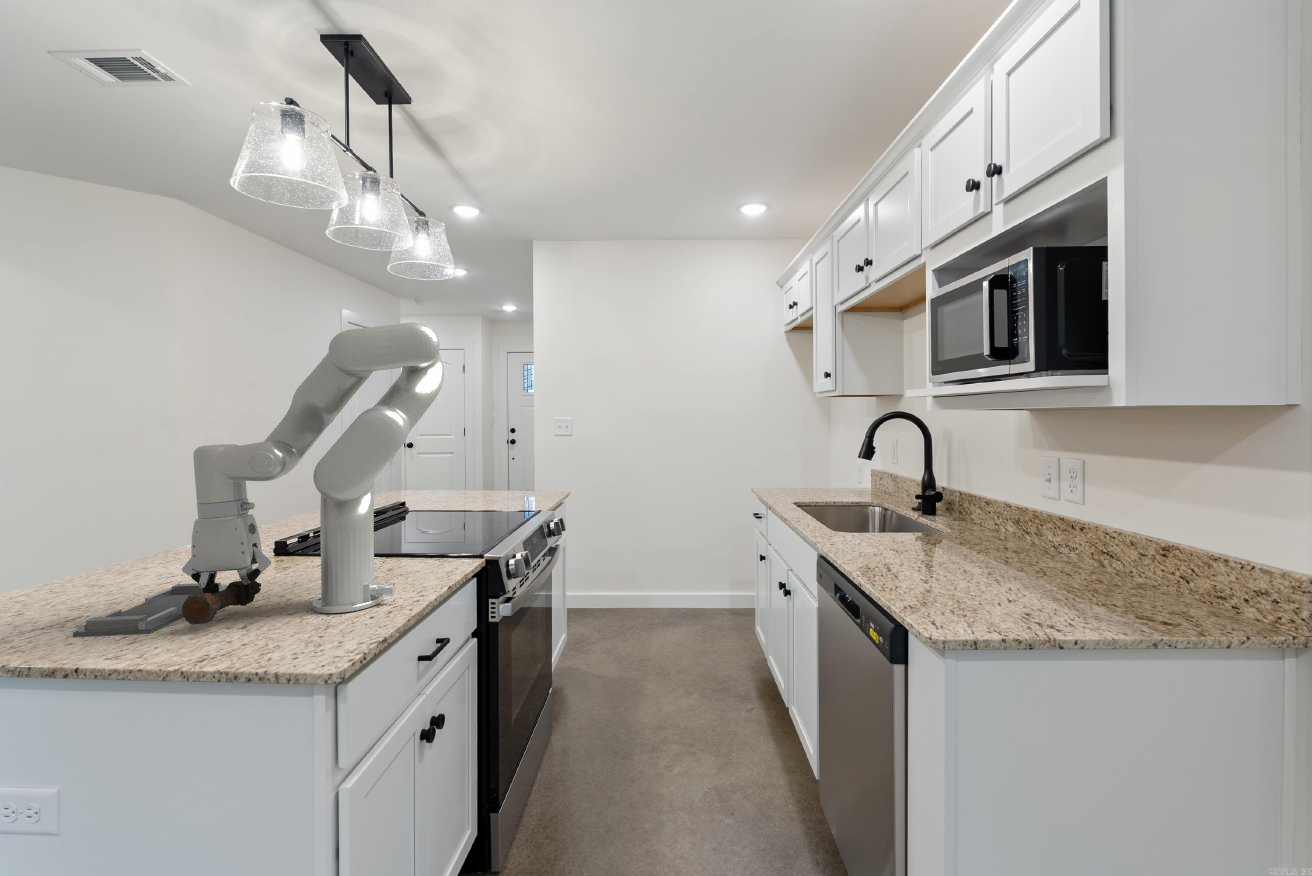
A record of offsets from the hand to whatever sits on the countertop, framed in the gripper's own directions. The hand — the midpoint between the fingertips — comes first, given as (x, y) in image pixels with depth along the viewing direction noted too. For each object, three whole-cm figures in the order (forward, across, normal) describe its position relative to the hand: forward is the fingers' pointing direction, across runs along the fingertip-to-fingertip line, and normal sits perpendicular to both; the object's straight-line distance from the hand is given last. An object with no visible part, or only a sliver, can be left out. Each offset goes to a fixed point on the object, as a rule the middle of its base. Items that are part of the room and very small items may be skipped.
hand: (230, 603), depth 107 cm
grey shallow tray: (+2, +15, -5) cm, 16 cm away
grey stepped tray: (+2, +15, -5) cm, 16 cm away
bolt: (+1, 0, +1) cm, 1 cm away
